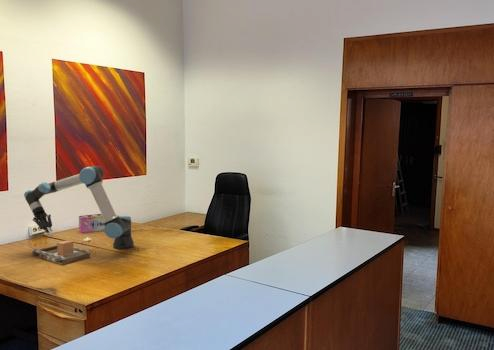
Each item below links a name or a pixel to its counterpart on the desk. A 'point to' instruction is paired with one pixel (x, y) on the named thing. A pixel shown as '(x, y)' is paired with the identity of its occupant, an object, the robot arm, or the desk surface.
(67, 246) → the terracotta block
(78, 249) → the rail track section
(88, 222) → the gum box
